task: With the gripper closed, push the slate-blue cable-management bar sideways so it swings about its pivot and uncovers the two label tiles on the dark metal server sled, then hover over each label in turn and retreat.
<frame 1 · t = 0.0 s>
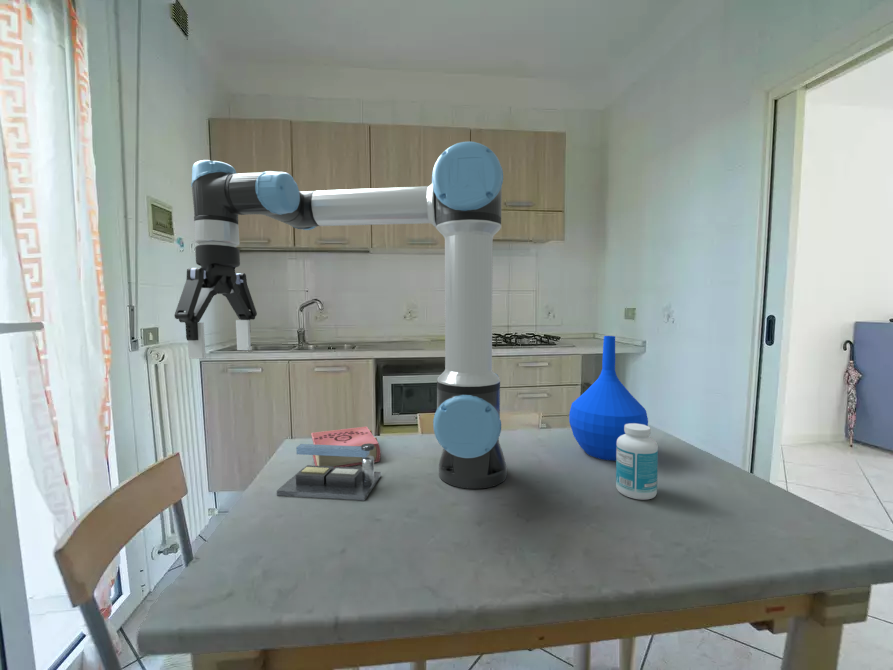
hand: (222, 354, 79), 28 cm above the table, fingers open, 13 cm apart
pill bottle: (635, 493, 79), on the table
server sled: (331, 485, 83), on the table
book: (345, 457, 99), on the table
vase: (606, 454, 100), on the table
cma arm: (335, 449, 82), point 8 cm above the table, hinge at 0.0°
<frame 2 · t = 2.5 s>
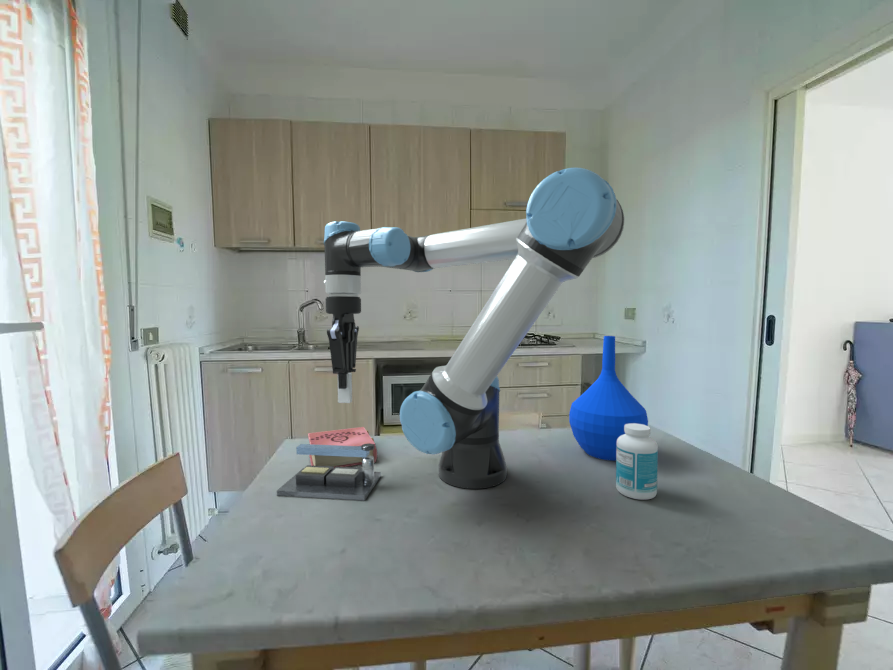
hand: (345, 401, 88), 16 cm above the table, fingers closed
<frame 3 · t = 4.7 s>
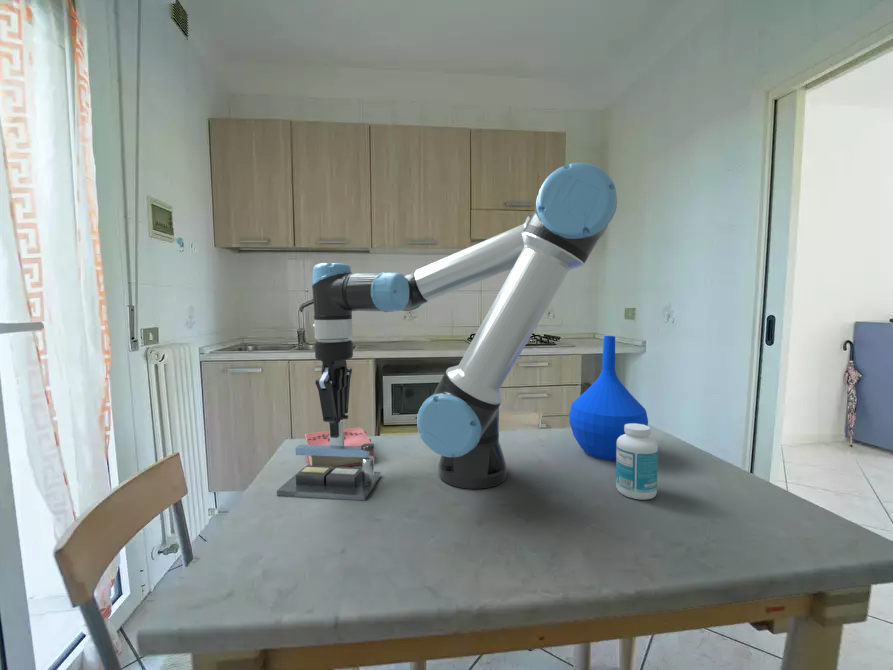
hand: (337, 450, 84), 7 cm above the table, fingers closed
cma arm: (335, 449, 82), point 8 cm above the table, hinge at 1.6°, touching gripper
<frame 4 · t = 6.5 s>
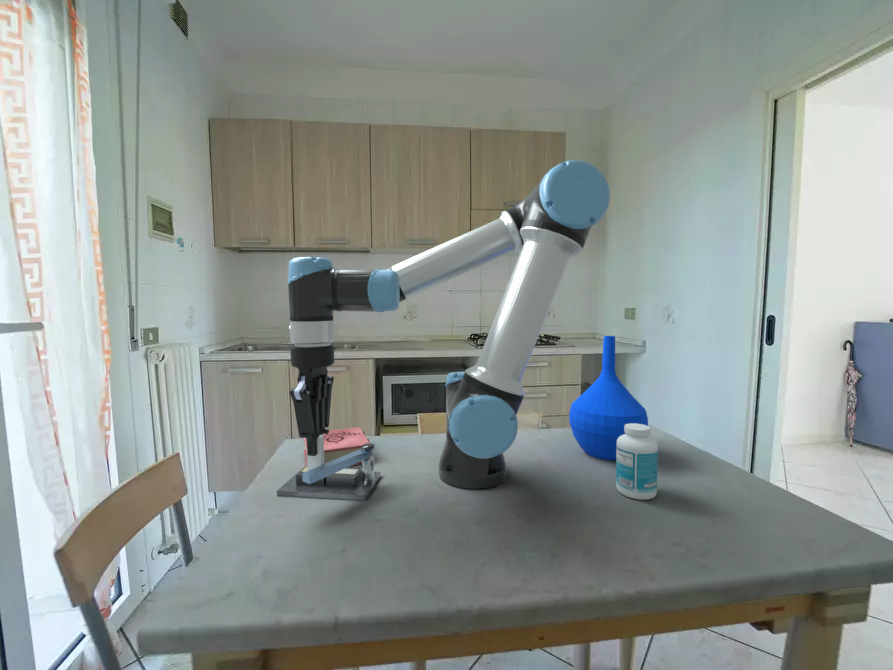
hand: (315, 469, 74), 7 cm above the table, fingers closed
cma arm: (342, 461, 76), point 8 cm above the table, hinge at 63.3°, touching gripper
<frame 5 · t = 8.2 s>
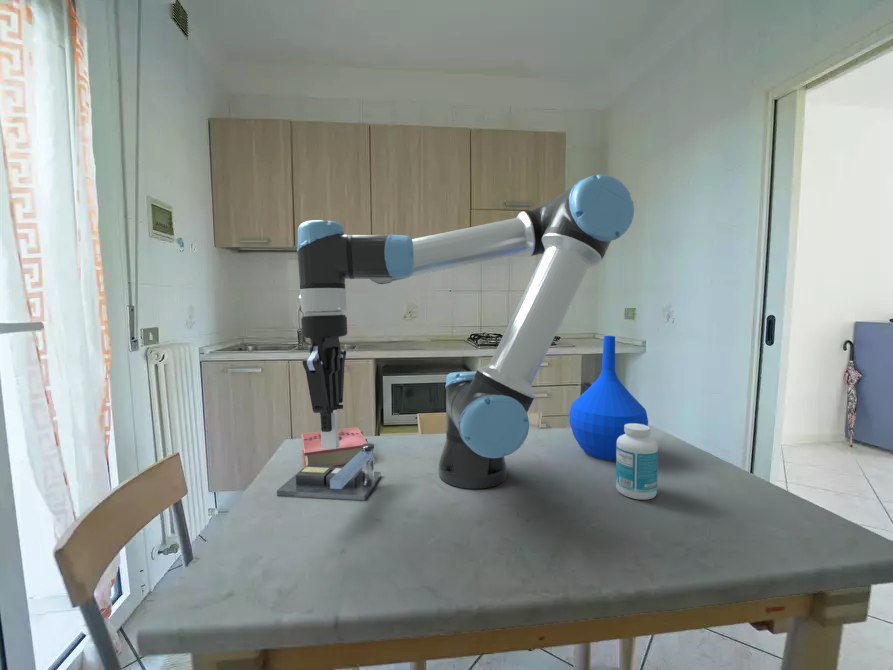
hand: (330, 447, 70), 13 cm above the table, fingers closed
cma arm: (354, 463, 75), point 8 cm above the table, hinge at 87.2°
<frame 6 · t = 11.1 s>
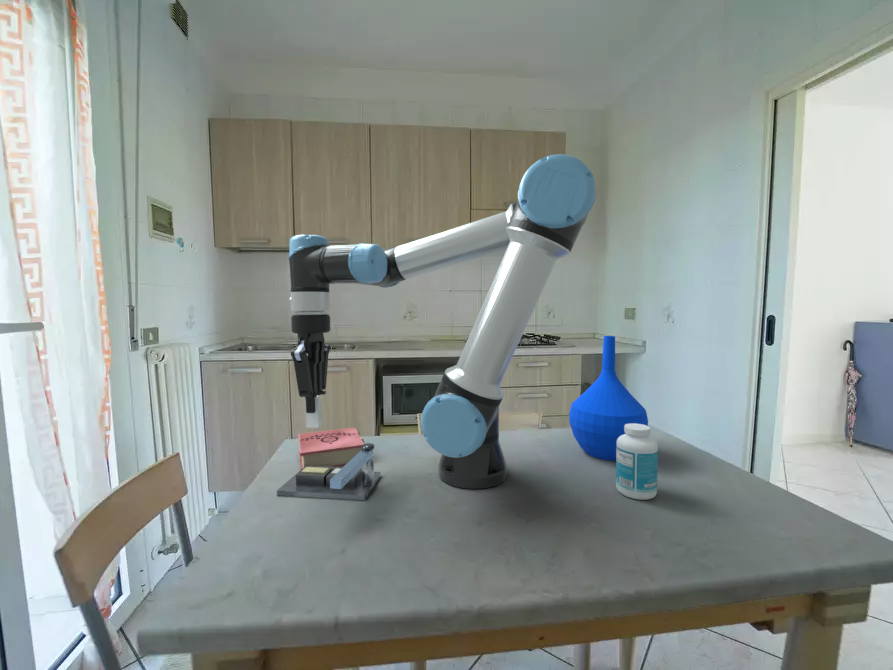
hand: (314, 426, 82), 12 cm above the table, fingers closed
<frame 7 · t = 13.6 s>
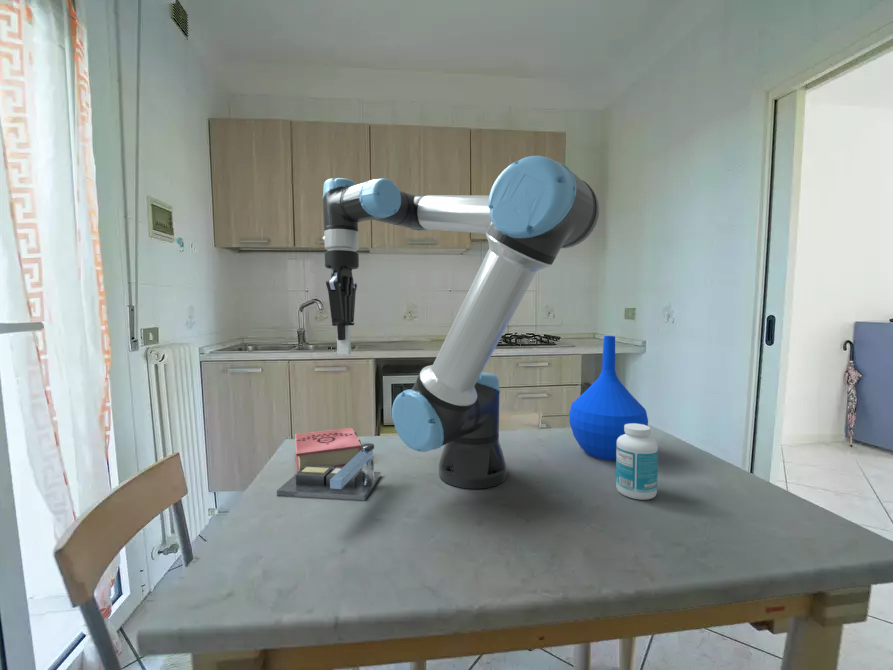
hand: (344, 353, 92), 26 cm above the table, fingers closed
at the end: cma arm at +87° (first picture: +0°); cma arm touching nothing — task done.
